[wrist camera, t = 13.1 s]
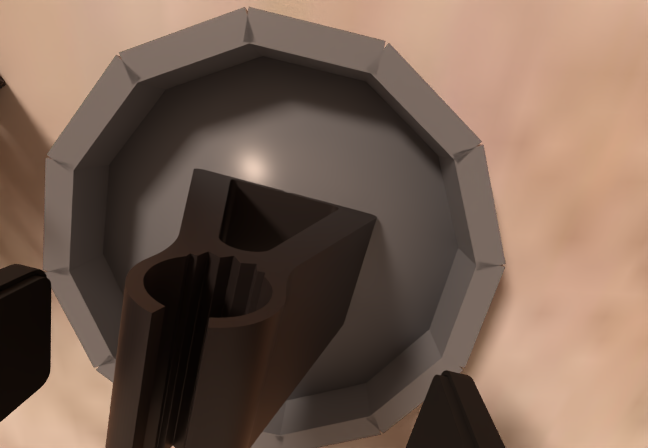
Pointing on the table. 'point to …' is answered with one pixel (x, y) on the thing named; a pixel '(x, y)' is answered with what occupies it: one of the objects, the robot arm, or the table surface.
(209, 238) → the phone stand
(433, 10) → the table surface
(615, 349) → the table surface
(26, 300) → the robot arm
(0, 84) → the ammunition clip
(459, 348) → the round tray
